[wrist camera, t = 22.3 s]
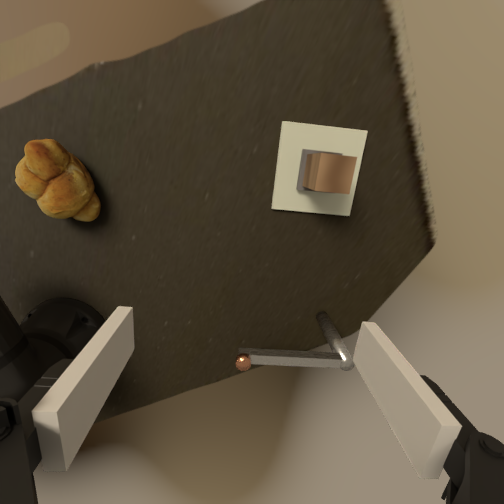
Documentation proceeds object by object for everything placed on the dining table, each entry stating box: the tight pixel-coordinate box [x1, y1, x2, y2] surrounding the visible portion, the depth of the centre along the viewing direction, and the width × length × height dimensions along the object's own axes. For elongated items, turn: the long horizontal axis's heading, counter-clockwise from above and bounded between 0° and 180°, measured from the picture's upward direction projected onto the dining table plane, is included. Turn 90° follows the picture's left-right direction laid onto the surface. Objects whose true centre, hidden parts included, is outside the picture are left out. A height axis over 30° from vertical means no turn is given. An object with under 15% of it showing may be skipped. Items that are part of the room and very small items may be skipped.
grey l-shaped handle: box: [236, 311, 355, 371], centre depth 48 cm, size 2×19×15 cm, turn 84°
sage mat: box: [272, 121, 368, 216], centre depth 46 cm, size 14×14×1 cm
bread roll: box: [15, 139, 101, 222], centre depth 42 cm, size 13×10×8 cm
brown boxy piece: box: [296, 149, 357, 194], centre depth 42 cm, size 6×6×9 cm
